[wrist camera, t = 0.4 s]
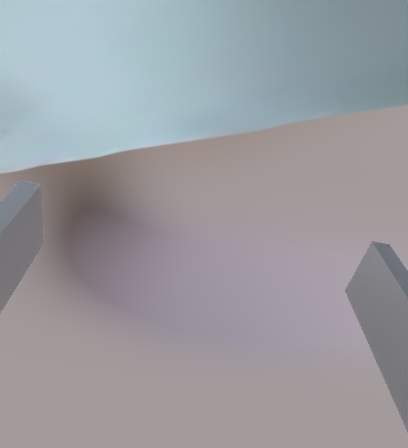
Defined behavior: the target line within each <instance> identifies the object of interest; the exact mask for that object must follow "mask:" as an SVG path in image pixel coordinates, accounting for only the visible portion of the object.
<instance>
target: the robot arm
mask: <svg viewBox="0 0 408 448" xmlns="http://www.w3.org/2000/svg"><path fill="white" fill-rule="evenodd" d="M42 219H43V218H42V197H41V184H37V183H31V182H25V181H19V182H18V183H17V184H16V185H15V186H14V187H13V188H12V189H11V190H10V192H9V193H8V194H7V195H6V196H5V197H4V198H3V199H2V200H1V201H0V313H1V311H2V310H3V308H4V306H5V305H6V303H7V302H8V300H9V298H10V297H11V295H12V294H13V292H14V290H15V289H16V287H17V285H18V284H19V282H20V281H21V279H22V277H23V276H24V274H25V272H26V271H27V269H28V268H29V266H30V264H31V263H32V261H33V259H34V258H35V256H36V255H37V253H38V251H39V250H40V248H41V246H42V245H43V242H44V241H43V220H42ZM345 292H346V294H347V296H348V298H349V301H350V303H351V305H352V308H353V310H354V312H355V314H356V316H357V319H358V321H359V323H360V325H361V328H362V330H363V332H364V335H365V337H366V339H367V341H368V344H369V346H370V348H371V350H372V352H373V355H374V357H375V359H376V362H377V364H378V366H379V368H380V371H381V373H382V375H383V377H384V380H385V382H386V384H387V386H388V389H389V391H390V393H391V396H392V398H393V400H394V402H395V404H396V407H397V409H398V411H399V414H400V415H401V418H402V420H403V423H404V425H405V427H406V429H407V432H408V271H407V269H406V268H405V266H404V265H403V264H402V262H401V261H400V259H399V258H398V256H397V255H396V253H395V252H394V250H393V249H392V247H391V246H390V245H389V244H383V243H378V242H371V244H370V246H369V248H368V249H367V251H366V253H365V255H364V257H363V259H362V260H361V262H360V264H359V266H358V268H357V269H356V271H355V273H354V275H353V277H352V279H351V280H350V282H349V284H348V286H347V288H346V290H345Z"/></svg>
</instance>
